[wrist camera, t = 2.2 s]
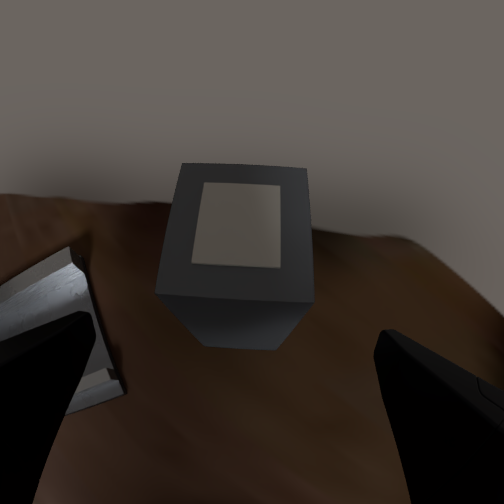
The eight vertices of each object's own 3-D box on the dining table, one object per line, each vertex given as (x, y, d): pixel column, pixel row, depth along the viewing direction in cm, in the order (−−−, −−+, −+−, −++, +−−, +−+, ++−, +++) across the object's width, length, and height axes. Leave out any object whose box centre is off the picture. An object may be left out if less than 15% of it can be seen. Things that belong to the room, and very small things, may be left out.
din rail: (127, 393, 16) (110, 393, 14) (16, 430, 14) (-4, 430, 11) (83, 258, 20) (68, 243, 18) (-10, 311, 18) (-28, 302, 15)
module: (275, 350, 18) (315, 301, 8) (204, 346, 18) (153, 292, 8) (277, 276, 20) (307, 165, 10) (211, 273, 20) (181, 159, 10)
